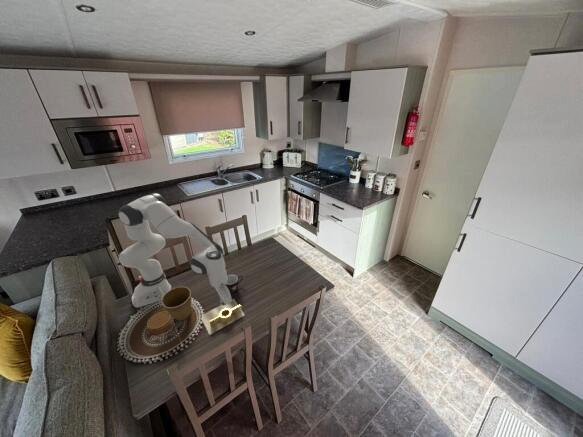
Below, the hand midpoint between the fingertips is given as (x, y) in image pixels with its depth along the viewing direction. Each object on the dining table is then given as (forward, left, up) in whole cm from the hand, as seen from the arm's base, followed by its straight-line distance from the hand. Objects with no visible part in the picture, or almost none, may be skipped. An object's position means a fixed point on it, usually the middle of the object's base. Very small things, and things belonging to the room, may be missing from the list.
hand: (222, 297), depth 127 cm
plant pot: (-20, +18, -18) cm, 32 cm away
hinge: (0, 0, -17) cm, 17 cm away
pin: (0, 0, -4) cm, 4 cm away
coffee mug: (+13, +18, -18) cm, 29 cm away
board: (-1, +4, -18) cm, 18 cm away
